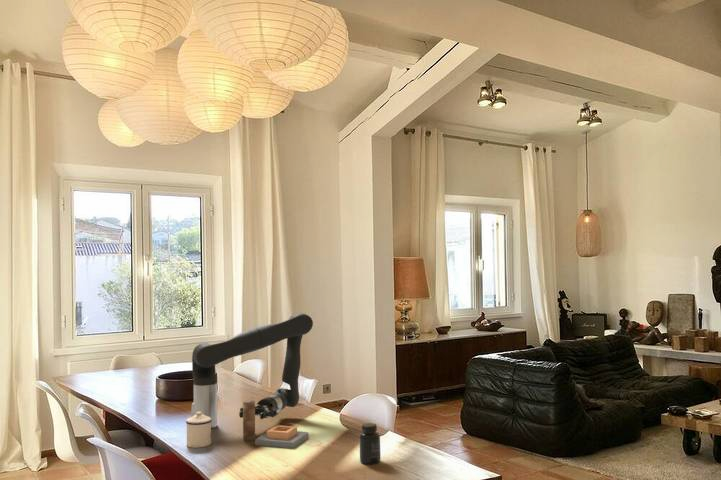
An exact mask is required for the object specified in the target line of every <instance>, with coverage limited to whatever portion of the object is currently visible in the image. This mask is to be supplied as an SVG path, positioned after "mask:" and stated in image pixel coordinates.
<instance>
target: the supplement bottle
mask: <svg viewBox="0 0 721 480" xmlns="http://www.w3.org/2000/svg"><path fill="white" fill-rule="evenodd" d="M377 425H378V424H376V423H374V422H373V423H372V422H371V423H370V422H369V423H368V422H367V423H366V422H365V423H364V424H362V425H361V433H360V434H359V437H358V438H359V462H360V463H361V464H363V465H368V466H369V465H377V464H379V463H380V462H381V458H382V457H381V435H380V433H378V432H377V430H378V428H377Z"/></svg>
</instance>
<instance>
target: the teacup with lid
mask: <svg viewBox="0 0 721 480" xmlns="http://www.w3.org/2000/svg"><path fill="white" fill-rule="evenodd" d="M211 421H212V419H211V418H210V417H208V416H205V415H203V414H202V412H197V413H196V415H194V416H193V417H192V416H191V417H188V418H187V419H186V421H185V423H186V446H188V447H189V448H194V449H195V448H204V447H208V446H210V445H211V444H212V428H211Z"/></svg>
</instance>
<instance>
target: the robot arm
mask: <svg viewBox="0 0 721 480" xmlns="http://www.w3.org/2000/svg"><path fill="white" fill-rule="evenodd" d="M313 326H314V321H313V318H312V316H309V314H306V313H293V314H292V315H291V316H290V317H289V318H288V319H287V320H283V321H281V322H277V323H271V324H265V325H260V326H256V327H252V328H249V329H247V330H244V331H242V332H240V333H238V334H237V335H234V336H233V337H231V338H229V339H227V340H224V341H221V342H216V343H211V344H210V343H207V342H201V343H199V344H197V345H196V346H195V347H194V349H193V351H192V354H191V355H192V357H191V360H192V361H191V363H192V365H191V366H192V367H191V368H192V369H191V370H192V379H193V402H192V403H191V417H193V416H194V415H196V413H197V412H202V414H203V415H205V416H208V417H210V418H211V419H212V421H211V429H213V428H216V427H217V426H218V376H217V373H216V365H219V364H221V363H222V362H224V361H226V360H228V359H232V358H234V357H238V356H243V355H246V354H249V353H253V352H256V351H259V350H262V349H265V348H266V347H267V348H268V347H270V346H272V345H274V344H277V343H278V342H281V341H283V340H284V341H285V340H286V351H285V358H284V363H283V370H282V373H281V375H282V376H281V380H282V382H283V383H285V384H287V385H288V386H289V388H290V389H288V388H284V387H283V388H282V387H281V388H280V387H279V388H277V389H276V390H275V392H274V394H272V395H268V396H266V397H264V398H261V399H260V400H259V401H258V402H257V404H255V416H258V417H260V418H259V419H260V420H264V419H268V418H274V417H276V416H278V415H279V413H280V411H282V410H284V409H285V408H286V407H290V408H294V407H296V406H297V405H298V404H299V401H300V393H299V377H300V373H301V372H300V370H301V364H302V363H301V362H302V361H301V344H302V339H303V336H304V335H307V334H308V333H309V332H311V330H312V329H313ZM238 413H239V415H238V416H239V418H241V419H243V406H242V407H240V408H239V412H238Z"/></svg>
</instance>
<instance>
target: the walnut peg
mask: <svg viewBox="0 0 721 480" xmlns="http://www.w3.org/2000/svg"><path fill="white" fill-rule="evenodd" d="M255 405H256V401H255V400H254V399H250V400H249V399H247V400H244V401H242V407H243V417H242V440H243V441H245V442H253V441H255V439H256V415H255Z"/></svg>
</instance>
